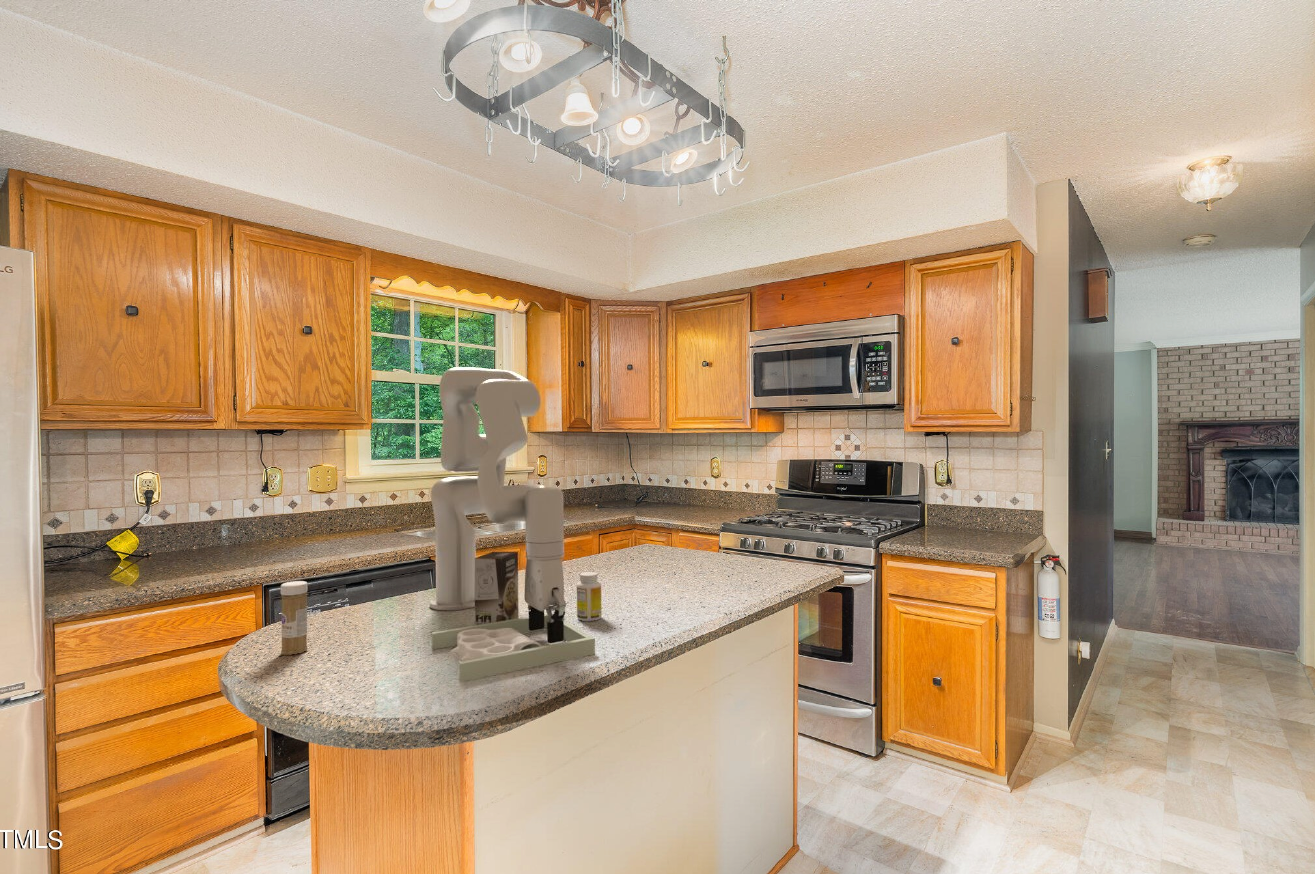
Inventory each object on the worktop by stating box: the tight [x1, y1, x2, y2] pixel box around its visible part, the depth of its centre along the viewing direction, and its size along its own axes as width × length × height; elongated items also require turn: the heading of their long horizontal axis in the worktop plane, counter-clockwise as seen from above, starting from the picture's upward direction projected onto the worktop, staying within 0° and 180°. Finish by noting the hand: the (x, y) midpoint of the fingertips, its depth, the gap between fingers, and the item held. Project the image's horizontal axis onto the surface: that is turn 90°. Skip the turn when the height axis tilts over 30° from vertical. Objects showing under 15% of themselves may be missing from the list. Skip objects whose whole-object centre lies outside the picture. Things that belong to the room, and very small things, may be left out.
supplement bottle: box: [576, 571, 603, 622], centre depth 147 cm, size 6×6×10 cm
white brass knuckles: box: [449, 628, 542, 662], centre depth 123 cm, size 3×18×15 cm
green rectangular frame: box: [430, 613, 596, 683], centre depth 125 cm, size 21×25×3 cm
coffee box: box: [474, 551, 520, 626], centre depth 140 cm, size 9×6×16 cm
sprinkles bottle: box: [280, 580, 308, 656], centre depth 126 cm, size 5×5×14 cm
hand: (545, 635), depth 129 cm, fingers open, 9 cm apart
